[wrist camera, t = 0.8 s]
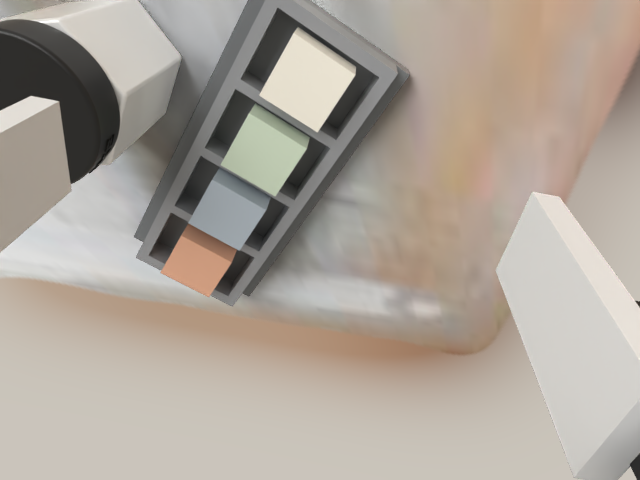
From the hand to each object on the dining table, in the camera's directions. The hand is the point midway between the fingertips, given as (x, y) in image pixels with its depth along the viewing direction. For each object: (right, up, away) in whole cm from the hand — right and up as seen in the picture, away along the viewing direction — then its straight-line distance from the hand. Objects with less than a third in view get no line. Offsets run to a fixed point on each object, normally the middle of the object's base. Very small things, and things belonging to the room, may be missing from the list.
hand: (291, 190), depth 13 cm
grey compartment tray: (-4, +5, +23) cm, 24 cm away
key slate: (-6, +1, +22) cm, 23 cm away
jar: (-13, +11, +20) cm, 27 cm away
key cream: (0, +9, +16) cm, 19 cm away
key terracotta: (-9, -2, +25) cm, 26 cm away
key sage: (-3, +5, +19) cm, 20 cm away
